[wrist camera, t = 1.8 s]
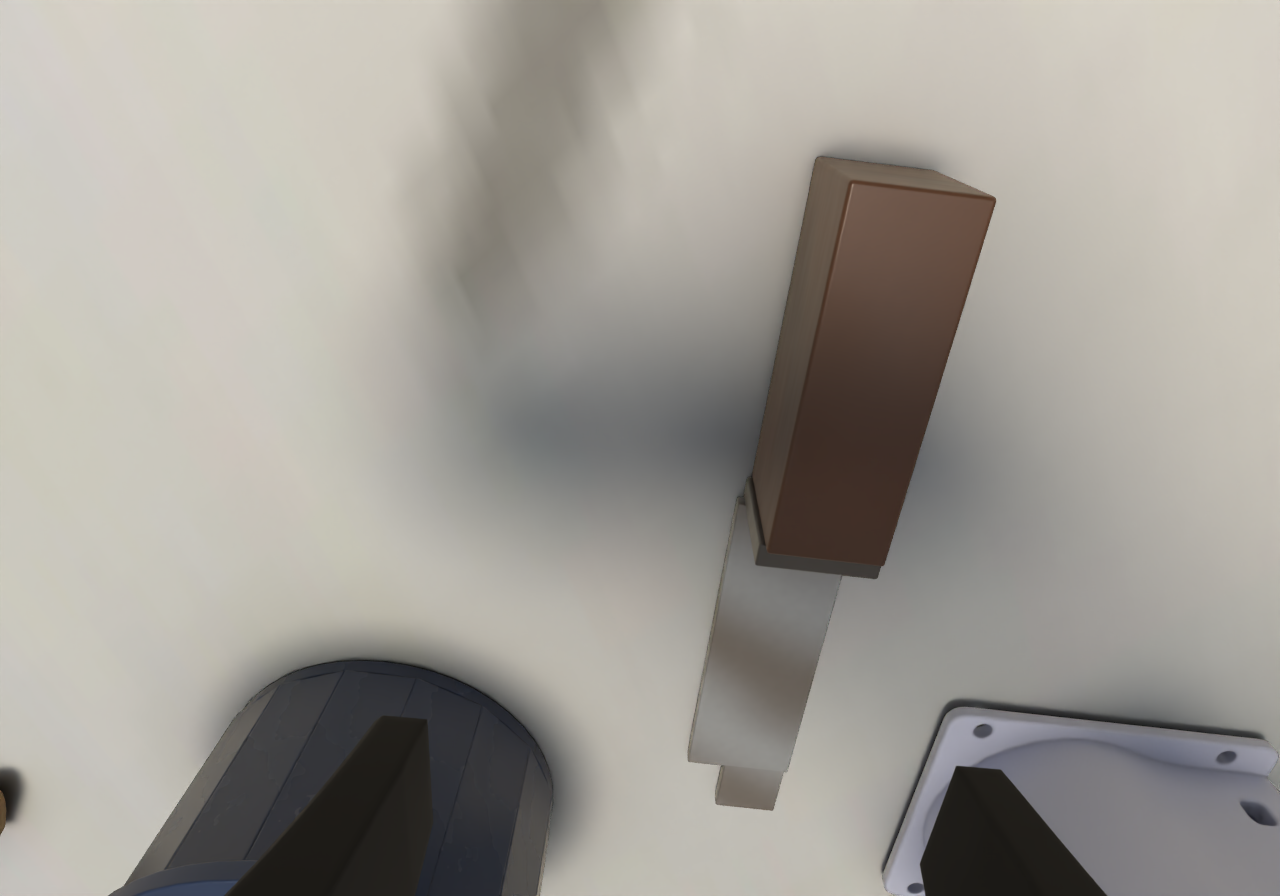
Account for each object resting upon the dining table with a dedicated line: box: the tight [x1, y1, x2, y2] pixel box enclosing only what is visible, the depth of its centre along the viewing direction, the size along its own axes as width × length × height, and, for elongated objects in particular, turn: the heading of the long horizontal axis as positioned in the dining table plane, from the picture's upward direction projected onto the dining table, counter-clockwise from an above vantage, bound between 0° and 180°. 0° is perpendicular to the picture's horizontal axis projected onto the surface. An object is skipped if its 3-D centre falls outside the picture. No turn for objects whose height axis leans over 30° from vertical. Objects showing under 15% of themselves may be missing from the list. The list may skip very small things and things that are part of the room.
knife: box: [688, 157, 996, 811], centre depth 19 cm, size 19×3×3 cm, turn 174°
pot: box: [124, 661, 553, 896], centre depth 22 cm, size 10×10×6 cm
